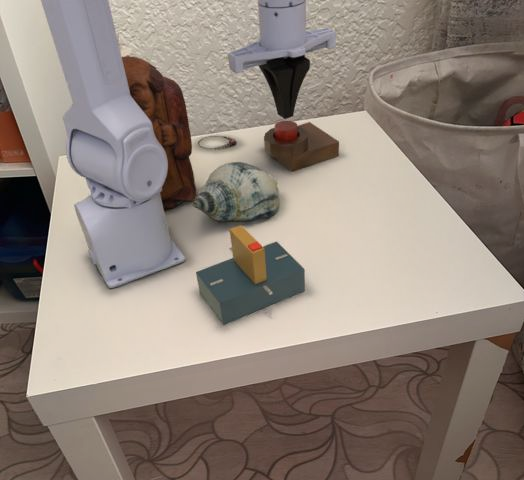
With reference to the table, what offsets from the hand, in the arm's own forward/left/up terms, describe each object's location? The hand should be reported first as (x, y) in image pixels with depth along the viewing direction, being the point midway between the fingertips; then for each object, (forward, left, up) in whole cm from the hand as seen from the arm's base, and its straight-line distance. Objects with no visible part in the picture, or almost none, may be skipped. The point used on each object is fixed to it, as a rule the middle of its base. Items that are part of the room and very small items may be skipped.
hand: (285, 115), depth 75 cm
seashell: (-12, -8, -7) cm, 16 cm away
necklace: (-6, +11, -7) cm, 15 cm away
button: (0, 0, -3) cm, 3 cm away
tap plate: (-18, -23, -7) cm, 30 cm away
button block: (+2, +1, -7) cm, 7 cm away
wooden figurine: (-20, +1, -7) cm, 21 cm away
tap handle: (-18, -23, -4) cm, 29 cm away
